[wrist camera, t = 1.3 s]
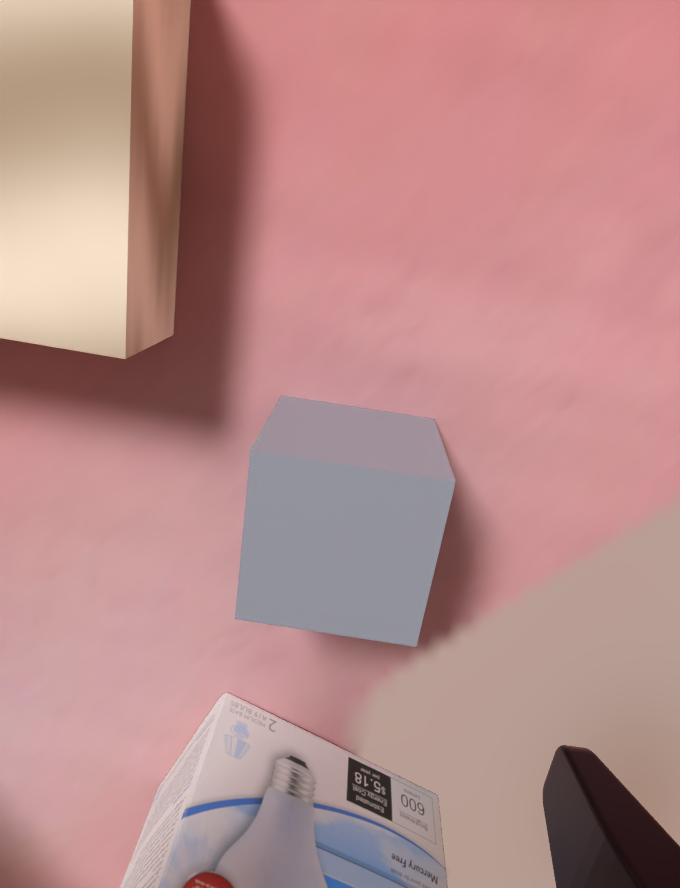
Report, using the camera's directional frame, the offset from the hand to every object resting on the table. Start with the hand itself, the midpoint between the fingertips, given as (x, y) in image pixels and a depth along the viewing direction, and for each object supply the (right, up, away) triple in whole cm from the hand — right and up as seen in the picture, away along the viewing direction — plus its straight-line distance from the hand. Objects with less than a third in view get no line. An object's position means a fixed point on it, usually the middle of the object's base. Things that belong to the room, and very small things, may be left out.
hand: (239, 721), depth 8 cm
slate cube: (+2, +3, +11) cm, 12 cm away
